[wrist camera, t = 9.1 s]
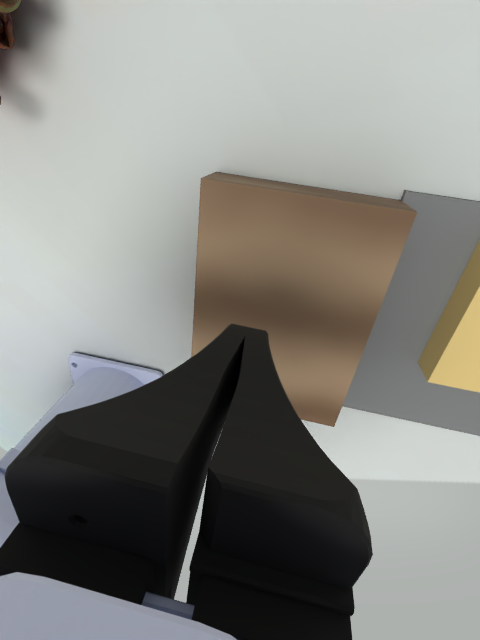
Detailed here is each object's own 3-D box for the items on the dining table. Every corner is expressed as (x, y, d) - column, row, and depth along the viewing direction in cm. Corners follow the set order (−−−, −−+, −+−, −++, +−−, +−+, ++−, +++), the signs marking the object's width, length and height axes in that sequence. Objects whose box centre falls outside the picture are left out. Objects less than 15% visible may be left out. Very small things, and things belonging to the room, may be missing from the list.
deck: (331, 395, 24) (334, 426, 22) (201, 368, 25) (189, 394, 23) (401, 200, 17) (417, 212, 15) (216, 171, 18) (201, 178, 15)
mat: (511, 439, 23) (514, 443, 23) (329, 400, 24) (329, 403, 24) (682, 232, 16) (689, 233, 15) (404, 190, 17) (406, 191, 17)
